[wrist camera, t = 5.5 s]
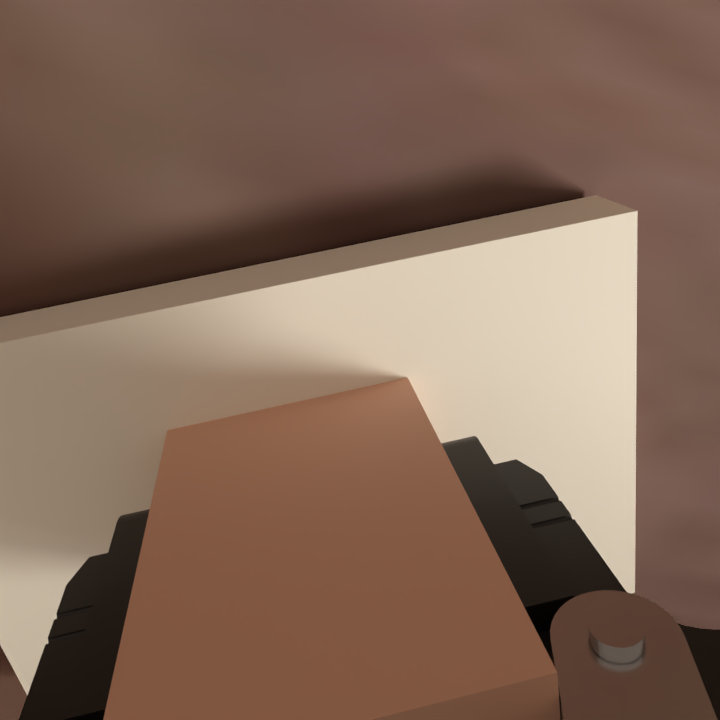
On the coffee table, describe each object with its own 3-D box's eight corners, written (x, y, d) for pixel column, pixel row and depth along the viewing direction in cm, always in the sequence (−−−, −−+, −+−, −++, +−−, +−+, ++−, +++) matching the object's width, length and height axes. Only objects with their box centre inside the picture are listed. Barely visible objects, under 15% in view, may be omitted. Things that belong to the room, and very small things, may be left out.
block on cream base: (595, 195, 12) (1043, 365, 5) (602, 548, 15) (880, 928, 9) (-101, 338, 11) (-633, 755, 4) (67, 678, 14) (-90, 1210, 8)
